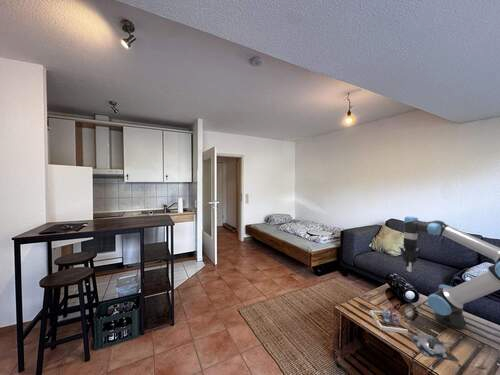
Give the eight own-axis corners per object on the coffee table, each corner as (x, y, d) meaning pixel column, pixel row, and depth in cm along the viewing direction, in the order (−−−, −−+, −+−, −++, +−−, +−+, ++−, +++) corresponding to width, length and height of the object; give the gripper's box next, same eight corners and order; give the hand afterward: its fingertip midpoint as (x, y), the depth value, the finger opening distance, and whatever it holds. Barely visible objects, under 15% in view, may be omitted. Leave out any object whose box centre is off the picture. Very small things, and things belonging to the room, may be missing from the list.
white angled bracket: (393, 316, 139) (393, 311, 139) (408, 334, 122) (408, 328, 122) (369, 313, 142) (369, 308, 142) (380, 330, 125) (380, 325, 125)
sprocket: (414, 332, 124) (414, 322, 123) (449, 345, 113) (449, 335, 113) (412, 346, 112) (413, 336, 112) (451, 363, 102) (451, 351, 102)
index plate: (437, 339, 119) (437, 337, 119) (459, 362, 104) (459, 361, 104) (406, 335, 122) (406, 333, 122) (424, 357, 106) (424, 355, 106)
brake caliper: (405, 327, 125) (392, 309, 128) (388, 333, 129) (375, 315, 132) (401, 317, 135) (389, 299, 138) (385, 322, 139) (373, 305, 142)
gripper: (417, 237, 147) (415, 269, 147) (397, 236, 149) (396, 268, 149) (424, 240, 139) (422, 274, 140) (403, 239, 142) (401, 272, 142)
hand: (409, 271), depth 145 cm, fingers closed
